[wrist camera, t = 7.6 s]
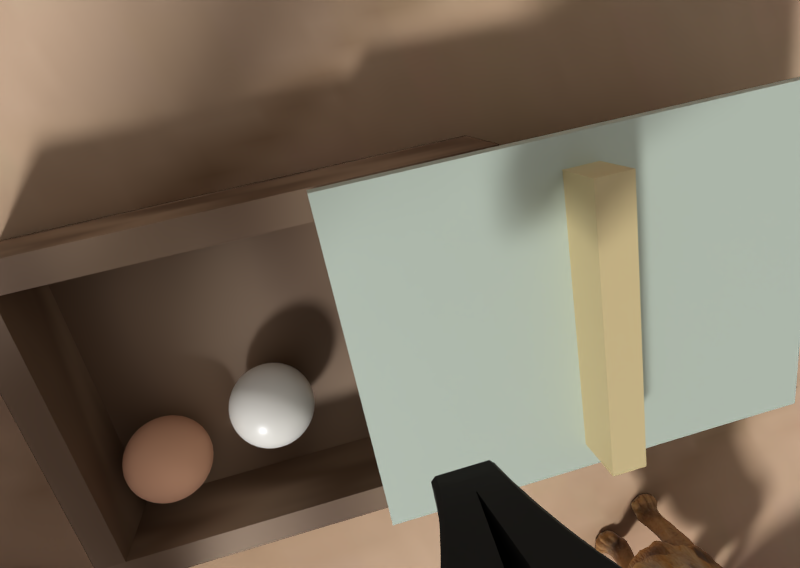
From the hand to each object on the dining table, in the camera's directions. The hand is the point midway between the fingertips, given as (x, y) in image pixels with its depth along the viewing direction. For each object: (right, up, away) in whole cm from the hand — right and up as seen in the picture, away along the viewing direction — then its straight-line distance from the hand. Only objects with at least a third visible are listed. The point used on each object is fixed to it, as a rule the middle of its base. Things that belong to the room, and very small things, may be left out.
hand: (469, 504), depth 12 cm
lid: (+5, +4, +7) cm, 9 cm away
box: (-6, +3, +9) cm, 11 cm away
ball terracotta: (-10, -2, +8) cm, 13 cm away
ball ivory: (-6, 0, +8) cm, 10 cm away
